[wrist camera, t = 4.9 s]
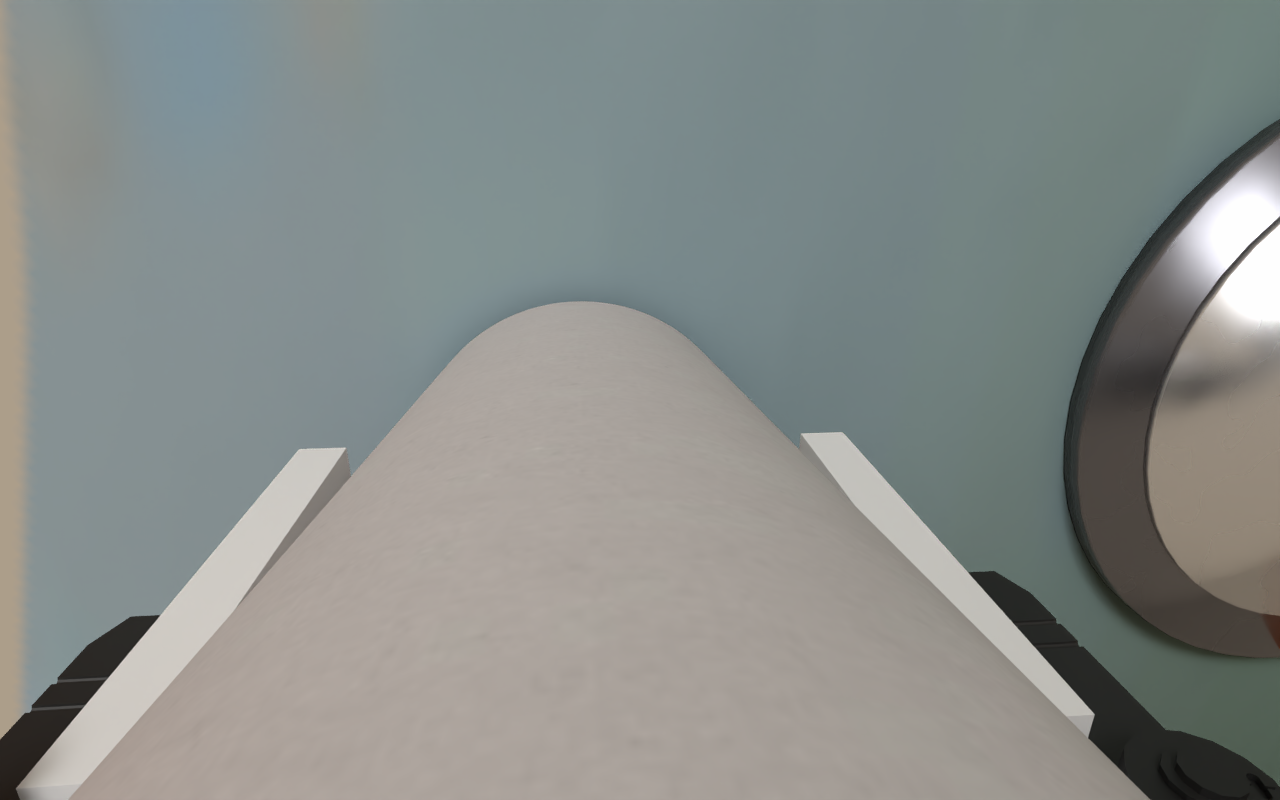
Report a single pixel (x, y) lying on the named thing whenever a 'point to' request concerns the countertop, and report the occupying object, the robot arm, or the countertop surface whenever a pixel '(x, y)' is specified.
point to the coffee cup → (597, 615)
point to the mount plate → (1190, 417)
